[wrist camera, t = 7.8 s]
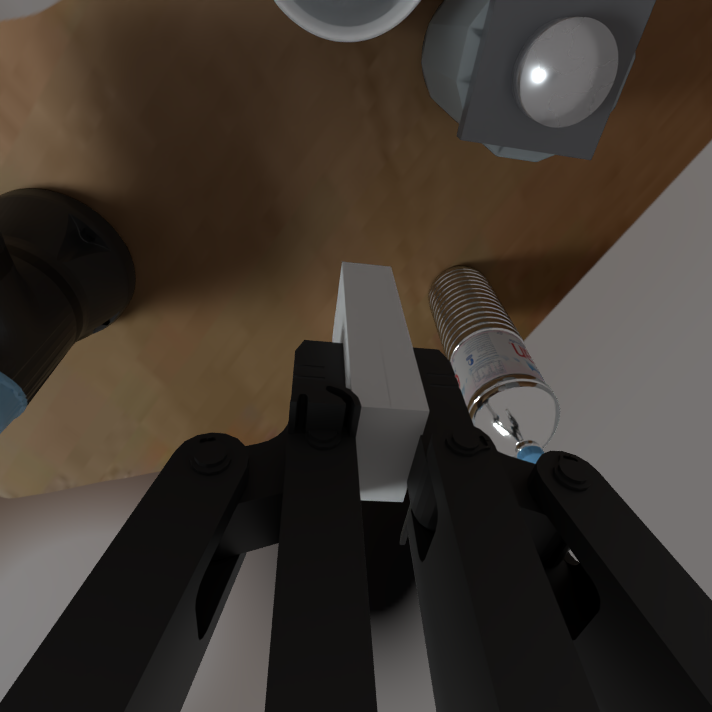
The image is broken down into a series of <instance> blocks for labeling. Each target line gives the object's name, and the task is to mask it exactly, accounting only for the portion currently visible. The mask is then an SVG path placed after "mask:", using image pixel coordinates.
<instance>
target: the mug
mask: <svg viewBox="0 0 712 712" xmlns="http://www.w3.org/2000/svg"><path fill="white" fill-rule="evenodd" d="M274 1H275V3H276V4H277V5H278V7H279V8H280V9H281V10H282V11H283V12H284V13H285V14H286V15H287V16H288V17H289V18H290V19H291V20H292V21H293V22H295V23H296V24H297V25H299V26H300V27H301V28H303V29H304V30H306V31H308V32H310V33H312V34H314V35H316V36H318V37H321V38H324V39H327V40H331V41H336V42H358V41H364V40H369V39H372V38H375V37H378V36H380V35H382V34H384V33H386V32H387V31H389V30H391V29H392V28H394V27H395V26H397V25H398V24H399V23H400V22H402V21H403V20H404V19H405V18H406V17H407V16H408V15H409V14H410V13H411V12H412V11H413V10H414V9H415V7H416V6H417V5H418V4H419V2H420V1H421V0H274Z"/></svg>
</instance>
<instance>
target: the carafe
mask: <svg viewBox="0 0 712 712" xmlns="http://www.w3.org/2000/svg"><path fill="white" fill-rule="evenodd" d="M655 1H656V0H444V1H443V2H442V4H441V5H440V6H439V7H438V9H437V10H436V12H435V14H434V15H433V17H432V19H431V21H430V23H429V25H428V28H427V31H426V34H425V37H424V41H423V48H422V62H421V64H422V71H423V76H424V80H425V83H426V86H427V88H428V90H429V93H430V97H431V98H432V99H433V100H434V101H435V102H436V103H437V104H438V105H439V106H440V107H441V108H443V109H444V110H445V111H446V112H447V113H448V114H449V115H450V116H451V117H452V118H453V119H454V120H455V121H456V122H458V123H459V128H458V132H457V137H458V138H459V139H460V140H464V141H471V142H477V143H482V144H483V145H484V146H485V147H487V148H488V149H489V150H490V151H491V152H492V153H493V154H495V155H496V156H499V157H506V158H512V159H519V160H526V161H532V162H538V161H540V160H543V159H545V158H548V157H550V156H553V155H561V156H567V157H574V158H580V159H587V160H591V159H592V156H593V154H594V152H595V149H596V147H597V144H598V142H599V139H600V137H601V134H602V132H603V129H604V127H605V124H606V122H607V120H608V117H609V115H610V113H611V112H612V110H613V109H614V108H615V106H616V104H617V101H618V99H619V96H620V94H621V91H622V89H623V86H624V84H625V82H626V79H627V77H628V74H629V72H630V69H631V67H632V64H633V62H634V60H635V51H636V48H637V46H638V43H639V41H640V38H641V36H642V33H643V31H644V28H645V26H646V24H647V21H648V19H649V16H650V14H651V11H652V9H653V6H654V4H655ZM563 17H588V18H592V19H596V20H598V21H600V22H601V23H603V24H604V25H605V26H606V27H607V28H608V29H609V30H610V31H611V33H612V35H613V36H614V39H615V41H616V45H617V49H618V68H617V73H616V77H615V80H614V83H613V85H612V87H611V90H610V91H609V93H608V95H607V97H606V98H605V99H604V101H603V102H602V103H601V105H600V106H599V107H598V108H597V109H596V110H595V111H594V112H593V113H592V114H590V115H589V116H588V117H587V118H585V119H583V120H582V121H580V122H578V123H576V124H573V125H570V126H566V127H559V128H555V127H548V126H545V125H542V124H540V123H538V122H536V121H534V120H533V119H531V118H529V117H527V116H526V115H525V114H524V113H523V112H522V111H521V110H520V109H519V107H518V106H517V104H516V102H515V99H514V96H513V92H512V72H513V68H514V64H515V61H516V58H517V56H518V54H519V52H520V50H521V48H522V47H523V45H524V44H525V42H526V41H527V39H528V38H529V37H530V36H531V35H532V34H533V33H534V32H535V31H536V30H537V29H539V28H540V27H541V26H543V25H544V24H546V23H548V22H550V21H552V20H555V19H558V18H563Z"/></svg>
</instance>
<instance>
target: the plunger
mask: <svg viewBox="0 0 712 712" xmlns="http://www.w3.org/2000/svg"><path fill="white" fill-rule="evenodd" d="M617 68H618V49H617V45H616V41H615V39H614V36H613V35H612V33H611V31H610V30H609V29H608V28H607V27H606V26H605V25H604V24H603V23H601V22H600V21H598V20H596V19H592V18H588V17H563V18H558V19H555V20H552V21H550V22H548V23H546V24H544V25H543V26H541V27H540V28H539V29H537V30H536V31H535V32H534V33H533V34H532V35H531V36H530V37H529V38H528V39H527V41H526V42H525V44H524V45H523V47H522V48H521V50H520V52H519V54H518V56H517V58H516V61H515V64H514V68H513V72H512V92H513V96H514V99H515V102H516V104H517V106H518V107H519V109H520V110H521V111H522V112H523V113H524V114H525V115H526V116H527V117H529V118H531V119H533V120H534V121H536V122H538V123H540V124H542V125H545V126H548V127H555V128H559V127H566V126H570V125H573V124H576V123H578V122H580V121H582V120H583V119H585V118H587V117H588V116H589V115H590V114H592V113H593V112H594V111H595V110H596V109H597V108H598V107H599V106H600V105H601V103H602V102H603V101H604V99H605V98H606V97H607V95H608V93H609V91H610V90H611V87H612V85H613V83H614V80H615V77H616V73H617Z"/></svg>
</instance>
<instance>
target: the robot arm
mask: <svg viewBox="0 0 712 712" xmlns="http://www.w3.org/2000/svg"><path fill="white" fill-rule="evenodd" d="M134 288H135V270H134V265H133V261H132V258H131V256H130V253H129V251H128V249H127V247H126V245H125V244H124V242H123V240H122V239H121V237H120V236H119V235H118V233H117V232H116V231H115V230H114V229H113V227H112V226H111V225H110V224H109V223H108V222H107V221H106V220H105V219H104V218H102V217H101V216H100V215H99V214H98V213H96V212H95V211H94V210H92V209H91V208H89V207H88V206H86V205H84V204H83V203H81V202H79V201H77V200H75V199H73V198H71V197H68V196H66V195H63V194H60V193H57V192H53V191H48V190H42V189H19V190H14V191H10V192H7V193H4V194H2V195H0V433H1V432H2V431H3V430H4V429H5V428H6V427H7V426H8V425H9V424H10V423H11V422H12V421H13V420H14V419H15V418H17V417H19V416H20V415H21V413H23V412H24V410H25V409H26V407H27V405H28V404H29V402H30V401H31V400H32V399H33V397H34V396H35V395H36V393H37V392H38V391H39V389H40V388H41V387H42V385H43V384H44V383H45V381H46V380H47V379H48V377H49V376H50V375H51V373H52V372H53V371H54V369H55V368H56V367H57V365H58V364H59V363H60V361H61V360H62V359H63V357H64V356H65V355H66V354H67V352H68V351H69V350H70V348H71V347H72V346H73V344H74V343H75V342H77V341H79V340H82V339H84V338H86V337H88V336H90V335H91V334H93V333H96V332H98V331H100V330H103V329H104V328H106V327H108V326H109V325H111V324H112V323H113V322H114V321H115V320H116V319H117V318H118V317H119V316H120V315H121V313H122V312H123V311H124V309H125V308H126V307H127V305H128V304H129V302H130V300H131V298H132V295H133V292H134ZM407 486H408V491H409V496H410V507H409V511H408V513H407V517H406V520H405V523H404V526H403V529H402V533H401V537H400V545H405V542H406V540H407V536H409V541H410V548H411V554H412V561H413V567H414V573H415V580H416V586H417V592H418V599H419V605H420V611H421V617H422V623H423V630H424V636H425V643H426V648H427V655H428V661H429V668H430V674H431V680H432V686H433V693H434V699H435V705H436V712H712V600H711V599H710V598H709V597H708V596H707V595H706V593H705V592H704V591H703V590H702V589H701V588H700V587H699V585H698V584H697V583H696V582H695V581H694V580H693V579H692V578H691V577H690V575H689V574H688V573H687V572H686V571H685V570H684V569H683V567H682V566H681V565H680V564H679V563H678V562H677V561H676V560H675V558H674V557H673V556H672V555H671V554H670V553H669V551H668V550H667V549H666V548H665V547H664V546H663V545H662V543H661V542H660V541H659V540H658V539H657V538H656V537H655V536H654V534H653V533H652V532H651V531H650V530H649V529H648V528H647V526H645V524H644V523H643V522H642V521H641V520H640V519H639V517H638V516H637V515H636V514H635V513H634V512H633V510H632V509H631V508H630V507H629V506H628V505H627V504H626V503H625V502H624V500H623V499H622V498H621V497H620V496H619V495H618V493H617V492H616V491H615V490H614V489H613V488H612V487H611V485H610V484H609V483H608V482H607V481H606V480H605V479H604V478H603V476H602V475H601V474H600V473H599V472H598V471H597V470H596V469H595V468H594V467H593V466H592V465H590V464H589V463H588V462H587V461H585V460H583V459H581V458H580V457H578V456H576V455H573V454H570V453H567V452H563V451H549V452H547V453H544V454H542V455H541V456H540V457H539V459H538V460H537V462H536V464H534V463H531V462H528V461H524V460H521V459H518V458H515V457H511V456H509V455H506V454H503V453H501V452H499V451H497V449H496V446H495V444H494V443H493V441H492V440H491V438H490V437H489V436H488V435H487V434H486V433H484V432H483V431H482V430H481V429H479V428H477V427H475V426H474V425H473V422H472V419H471V417H470V414H469V411H468V408H467V406H466V403H465V400H464V397H463V395H462V392H461V389H460V388H459V384H458V381H457V378H455V373H454V370H453V367H452V365H451V362H450V361H449V360H448V359H447V358H446V357H445V356H444V355H443V354H442V353H441V352H440V351H439V350H436V349H424V348H413V347H412V344H411V340H410V336H409V332H408V329H407V325H406V321H405V317H404V314H403V310H402V306H401V302H400V299H399V295H398V291H397V288H396V284H395V280H394V276H393V273H392V269H391V267H389V266H379V265H369V264H360V263H350V262H342V267H341V274H340V282H339V290H338V298H337V306H336V314H335V322H334V330H333V342H323V341H310V340H304V341H303V342H302V344H301V345H300V346H299V347H298V348H297V349H296V351H295V360H294V371H293V383H292V395H291V401H290V411H289V421H288V425H287V426H286V428H285V429H284V431H282V432H281V433H280V434H279V435H278V436H276V437H274V438H273V439H271V440H269V441H266V442H262V443H259V444H254V445H249V446H245V445H244V444H243V443H242V442H241V441H240V440H239V439H237V438H235V437H232V436H230V435H228V434H223V433H207V434H201V435H197V436H195V437H193V438H191V439H189V440H187V441H185V442H184V443H183V444H182V445H181V446H180V447H179V448H178V449H177V450H176V451H175V452H174V453H173V455H172V456H171V458H170V459H169V461H168V462H167V463H166V465H165V466H164V468H163V469H162V471H161V472H160V474H159V475H158V477H157V478H156V479H155V481H154V482H153V484H152V485H151V487H150V488H149V489H148V491H147V492H146V494H145V495H144V497H143V498H142V499H141V501H140V502H139V504H138V505H137V507H136V508H135V510H134V511H133V512H132V514H131V515H130V517H129V518H128V520H127V521H126V523H125V524H124V525H123V527H122V528H121V530H120V531H119V533H118V534H117V535H116V537H115V538H114V540H113V541H112V543H111V544H110V546H109V547H108V548H107V550H106V551H105V553H104V554H103V556H102V557H101V559H100V560H99V561H98V563H97V564H96V566H95V567H94V569H93V570H92V571H91V573H90V574H89V576H88V577H87V579H86V580H85V582H84V583H83V585H82V586H81V587H80V589H79V590H78V592H77V593H76V595H75V596H74V597H73V599H72V600H71V602H70V603H69V605H68V606H67V607H66V609H65V610H64V612H63V613H62V615H61V616H60V617H59V619H58V621H57V622H56V623H55V625H54V626H53V628H52V629H51V631H50V632H49V633H48V635H47V636H46V638H45V639H44V640H43V642H42V643H41V645H40V646H39V648H38V649H37V651H36V652H35V653H34V655H33V656H32V658H31V659H30V661H29V662H28V663H27V665H26V666H25V668H24V669H23V671H22V672H21V674H20V675H19V677H18V678H17V680H16V681H15V682H14V684H13V685H12V687H11V688H10V689H9V691H8V692H7V694H6V695H5V697H4V698H3V699H2V701H1V702H0V712H180V711H181V709H182V706H183V704H184V701H185V699H186V696H187V694H188V692H189V689H190V687H191V685H192V682H193V680H194V678H195V675H196V673H197V670H198V668H199V666H200V663H201V661H202V658H203V656H204V654H205V651H206V649H207V646H208V644H209V642H210V639H211V637H212V634H213V632H214V630H215V627H216V625H217V623H218V620H219V618H220V615H221V613H222V611H223V608H224V606H225V603H226V601H227V599H228V596H229V594H230V591H231V589H232V586H233V584H234V582H235V579H236V577H237V575H238V572H239V570H240V567H241V565H242V563H243V560H244V558H245V555H246V552H248V551H252V550H256V549H259V548H263V547H266V546H270V545H273V544H276V543H279V547H278V558H277V570H276V582H275V595H274V606H273V618H272V630H271V642H270V654H269V667H268V678H267V691H266V703H265V712H377V701H376V688H375V676H374V665H373V664H374V663H373V650H372V638H371V625H370V612H369V599H368V587H367V574H366V561H365V549H364V537H363V523H362V510H361V500H372V501H397V502H403V500H404V496H405V493H406V489H407ZM569 550H571V551H572V552H573V554H574V555H575V557H576V558H577V559H578V561H579V562H580V563H579V562H578V561H576V560H575V559H574V558H573V557H572V556H571V555H570V553H569V552H568V551H569Z"/></svg>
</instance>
